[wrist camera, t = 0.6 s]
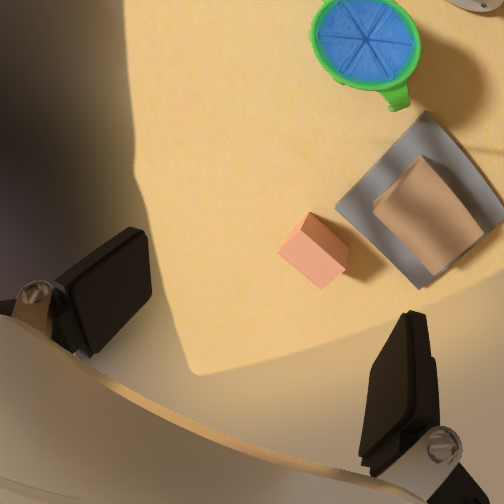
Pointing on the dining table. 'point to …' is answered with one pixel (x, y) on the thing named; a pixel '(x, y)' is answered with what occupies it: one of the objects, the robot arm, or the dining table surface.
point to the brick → (315, 251)
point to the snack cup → (368, 46)
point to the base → (391, 170)
